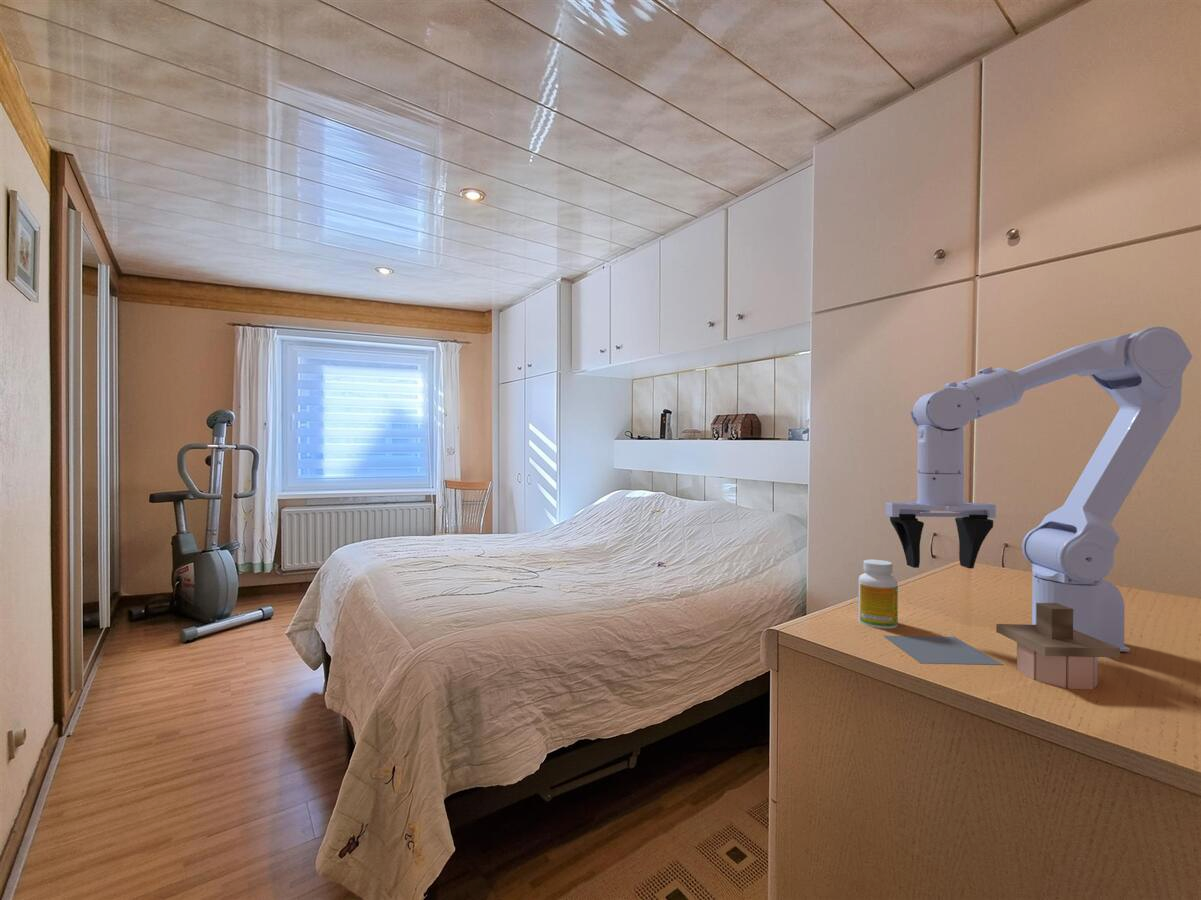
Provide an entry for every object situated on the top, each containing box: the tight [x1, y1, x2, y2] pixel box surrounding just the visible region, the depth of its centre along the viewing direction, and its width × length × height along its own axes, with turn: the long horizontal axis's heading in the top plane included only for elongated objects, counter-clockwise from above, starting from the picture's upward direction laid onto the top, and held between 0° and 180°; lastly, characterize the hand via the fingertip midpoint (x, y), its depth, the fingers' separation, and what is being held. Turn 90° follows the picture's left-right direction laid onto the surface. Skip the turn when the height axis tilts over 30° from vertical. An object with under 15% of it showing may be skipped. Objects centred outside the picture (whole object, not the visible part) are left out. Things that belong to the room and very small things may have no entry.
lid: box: [995, 603, 1121, 658], centre depth 65 cm, size 8×8×4 cm
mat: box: [883, 635, 1004, 666], centre depth 73 cm, size 10×10×1 cm
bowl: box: [1016, 642, 1099, 690], centre depth 64 cm, size 7×7×4 cm
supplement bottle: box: [857, 559, 899, 629], centre depth 84 cm, size 5×5×10 cm
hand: (939, 566), depth 80 cm, fingers open, 7 cm apart
